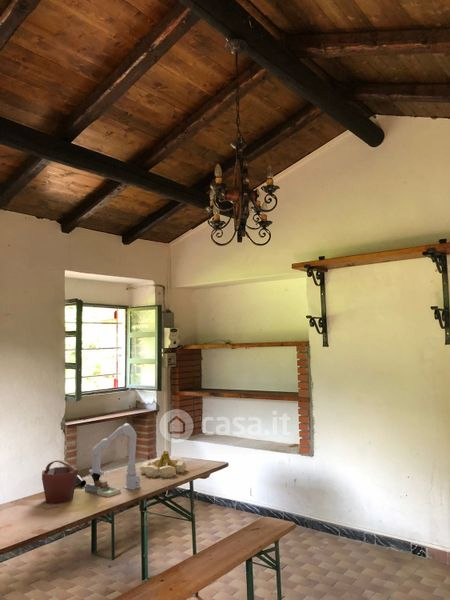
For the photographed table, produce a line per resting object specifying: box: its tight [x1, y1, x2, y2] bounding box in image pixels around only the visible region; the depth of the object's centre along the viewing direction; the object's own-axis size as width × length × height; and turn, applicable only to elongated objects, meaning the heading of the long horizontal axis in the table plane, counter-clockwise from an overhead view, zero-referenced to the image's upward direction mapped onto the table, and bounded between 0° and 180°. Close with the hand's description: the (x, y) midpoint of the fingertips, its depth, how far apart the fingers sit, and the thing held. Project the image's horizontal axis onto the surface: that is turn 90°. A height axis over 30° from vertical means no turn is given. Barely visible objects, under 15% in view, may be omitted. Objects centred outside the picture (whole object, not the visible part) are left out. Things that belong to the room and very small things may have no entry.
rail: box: [84, 482, 110, 495], centre depth 323 cm, size 14×10×4 cm
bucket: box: [41, 459, 79, 505], centre depth 306 cm, size 24×22×25 cm
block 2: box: [99, 479, 108, 489], centre depth 320 cm, size 4×4×4 cm
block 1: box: [95, 479, 103, 486], centre depth 322 cm, size 4×4×4 cm
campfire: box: [139, 450, 188, 478], centre depth 369 cm, size 35×34×17 cm
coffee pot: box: [75, 474, 87, 488], centre depth 332 cm, size 8×18×8 cm
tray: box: [96, 486, 121, 498], centre depth 316 cm, size 11×11×2 cm
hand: (96, 484), depth 324 cm, fingers closed
